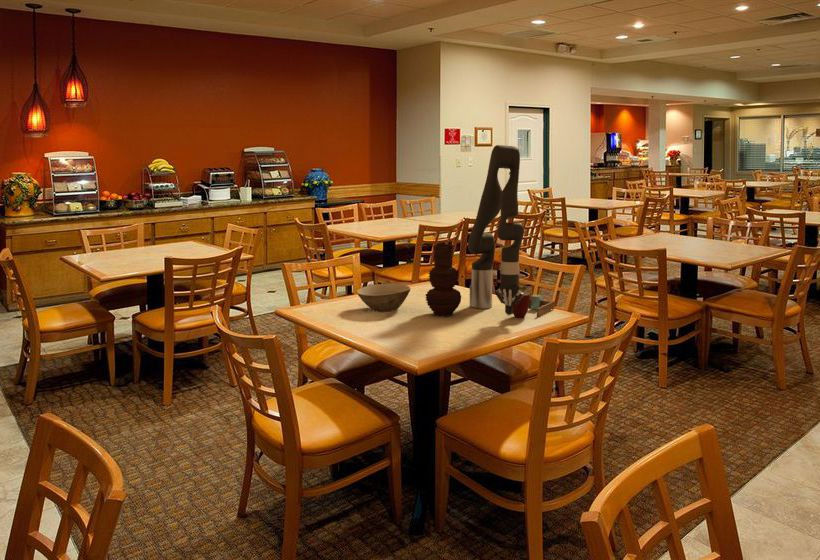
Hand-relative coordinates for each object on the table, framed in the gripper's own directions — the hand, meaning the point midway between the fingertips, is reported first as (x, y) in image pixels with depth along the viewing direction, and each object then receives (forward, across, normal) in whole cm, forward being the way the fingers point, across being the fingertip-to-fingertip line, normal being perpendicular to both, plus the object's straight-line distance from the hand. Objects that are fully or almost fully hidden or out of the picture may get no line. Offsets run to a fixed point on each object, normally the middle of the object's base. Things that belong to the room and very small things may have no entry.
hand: (509, 314), depth 280 cm
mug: (+4, 0, +10) cm, 10 cm away
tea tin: (+4, 0, +28) cm, 29 cm away
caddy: (+4, 0, +23) cm, 23 cm away
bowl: (+4, -57, -9) cm, 58 cm away
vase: (+4, -30, -2) cm, 30 cm away
